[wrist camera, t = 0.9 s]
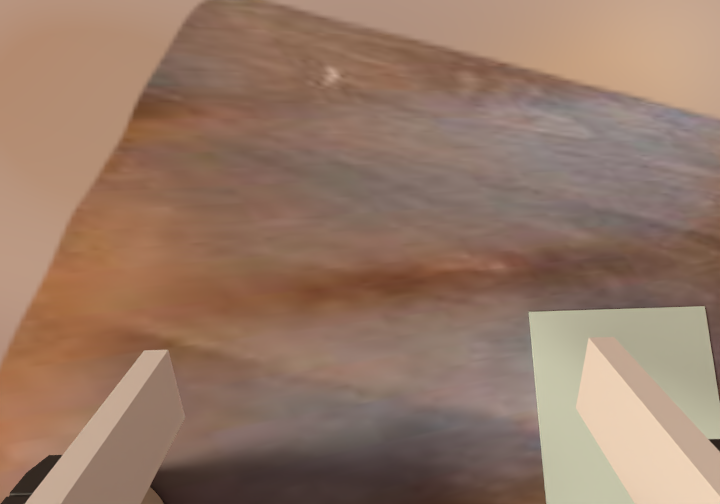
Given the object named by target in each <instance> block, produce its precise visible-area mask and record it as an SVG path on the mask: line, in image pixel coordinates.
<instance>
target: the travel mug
mask: <svg viewBox="0 0 720 504" xmlns="http://www.w3.org/2000/svg"><path fill="white" fill-rule="evenodd" d="M141 504H164V503H163V501H162V500H161V498H160V497H159V496H158V494H157V493H156V492H155V491H154V490H153V489H152V488H151V487H149V489H148V491H147V493H146V495H145V497H144V499H143V501H142V502H141Z"/></svg>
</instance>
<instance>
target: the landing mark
mask: <svg viewBox="0 0 720 504" xmlns="http://www.w3.org/2000/svg"><path fill="white" fill-rule="evenodd" d="M529 322H530V333H531V344H532V354H533V365H534V376H535V387H536V398H537V409H538V419H539V430H540V441H541V452H542V463H543V474H544V484H545V495H546V504H635V503H634V502H633V500H632V498H631V497H630V495H629V494H628V492H627V490H626V489H625V487H624V485H623V484H622V482H621V481H620V479H619V477H618V476H617V474H616V472H615V471H614V469H613V468H612V466H611V464H610V463H609V461H608V460H607V458H606V456H605V455H604V453H603V451H602V450H601V448H600V447H599V445H598V443H597V442H596V440H595V438H594V437H593V435H592V434H591V432H590V430H589V429H588V427H587V425H586V424H585V422H584V421H583V419H582V417H581V416H580V414H579V412H578V411H577V409H576V404H577V398H578V393H579V387H580V382H581V377H582V371H583V366H584V360H585V355H586V349H587V344H588V339H589V338H592V337H614V338H615V339H616V340H617V341H618V342H619V343H620V344H621V345H622V346H623V347H624V348H625V349H626V351H627V352H628V353H629V354H630V355H631V356H632V357H633V358H634V359H635V360H636V361H637V362H638V364H639V365H640V366H641V367H642V368H643V369H644V370H645V371H646V372H647V373H648V374H649V376H650V377H651V378H652V379H653V380H654V381H655V382H656V383H657V384H658V385H659V386H660V387H661V389H662V390H663V391H664V392H665V393H666V394H667V395H668V396H669V397H670V398H671V399H672V400H673V402H674V403H675V404H676V405H677V406H678V407H679V408H680V409H681V410H682V411H683V412H684V414H685V415H686V416H687V417H688V418H689V419H690V420H691V421H692V422H693V423H694V424H695V425H696V427H697V428H698V429H699V430H700V431H701V432H702V433H703V434H704V435H705V436H706V437H707V438H708V439H720V401H719V395H718V388H717V382H716V375H715V369H714V363H713V356H712V350H711V343H710V337H709V330H708V324H707V317H706V311H705V306H694V307H663V308H633V309H602V310H571V311H541V312H529Z"/></svg>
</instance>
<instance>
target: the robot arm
mask: <svg viewBox="0 0 720 504" xmlns="http://www.w3.org/2000/svg"><path fill="white" fill-rule="evenodd" d="M576 409H577V411H578V412H579V414H580V416H581V417H582V419H583V421H584V422H585V424H586V425H587V427H588V429H589V430H590V432H591V434H592V435H593V437H594V438H595V440H596V442H597V443H598V445H599V447H600V448H601V450H602V451H603V453H604V455H605V456H606V458H607V460H608V461H609V463H610V464H611V466H612V468H613V469H614V471H615V472H616V474H617V476H618V477H619V479H620V481H621V482H622V484H623V485H624V487H625V489H626V490H627V492H628V494H629V495H630V497H631V498H632V500H633V502H634V503H635V504H720V439H708V438H707V437H706V436H705V435H704V434H703V433H702V432H701V431H700V430H699V429H698V428H697V427H696V425H695V424H694V423H693V422H692V421H691V420H690V419H689V418H688V417H687V416H686V415H685V414H684V412H683V411H682V410H681V409H680V408H679V407H678V406H677V405H676V404H675V403H674V402H673V400H672V399H671V398H670V397H669V396H668V395H667V394H666V393H665V392H664V391H663V390H662V389H661V387H660V386H659V385H658V384H657V383H656V382H655V381H654V380H653V379H652V378H651V377H650V376H649V374H648V373H647V372H646V371H645V370H644V369H643V368H642V367H641V366H640V365H639V364H638V362H637V361H636V360H635V359H634V358H633V357H632V356H631V355H630V354H629V353H628V352H627V351H626V349H625V348H624V347H623V346H622V345H621V344H620V343H619V342H618V341H617V340H616V339H615V338H614V337H592V338H589V339H588V344H587V349H586V355H585V360H584V366H583V371H582V377H581V382H580V387H579V393H578V398H577V404H576ZM184 419H185V415H184V411H183V407H182V403H181V399H180V395H179V391H178V387H177V383H176V379H175V375H174V371H173V367H172V363H171V359H170V355H169V351H168V350H146V351H144V352H143V353H142V354H141V355H140V357H139V358H138V359H137V361H136V362H135V363H134V364H133V366H132V367H131V368H130V369H129V371H128V372H127V373H126V375H125V376H124V377H123V378H122V380H121V381H120V382H119V384H118V385H117V386H116V387H115V389H114V390H113V391H112V393H111V394H110V395H109V396H108V398H107V399H106V400H105V401H104V403H103V404H102V405H101V407H100V408H99V409H98V410H97V412H96V413H95V414H94V416H93V417H92V418H91V419H90V421H89V422H88V423H87V425H86V426H85V427H84V428H83V430H82V431H81V432H80V434H79V435H78V436H77V437H76V439H75V440H74V441H73V442H72V444H71V445H70V446H69V448H68V449H67V450H66V451H65V453H64V454H63V455H49V456H48V457H46V458H45V459H44V460H42V461H41V462H40V463H39V464H37V465H36V466H35V467H33V468H32V469H31V470H30V471H28V472H27V473H26V474H25V475H24V477H23V478H22V479H21V480H20V481H19V483H18V484H17V485H16V486H15V487H14V489H13V490H12V491H11V492H10V496H9V497H6V498H5V499H4V500H3V502H2V503H1V504H141V502H142V501H143V499H144V497H145V495H146V493H147V491H148V489H149V487H150V485H151V483H152V481H153V479H154V477H155V475H156V473H157V471H158V469H159V467H160V466H161V464H162V462H163V460H164V458H165V456H166V454H167V452H168V450H169V448H170V446H171V444H172V442H173V440H174V438H175V436H176V434H177V432H178V431H179V429H180V427H181V425H182V423H183V421H184Z"/></svg>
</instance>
